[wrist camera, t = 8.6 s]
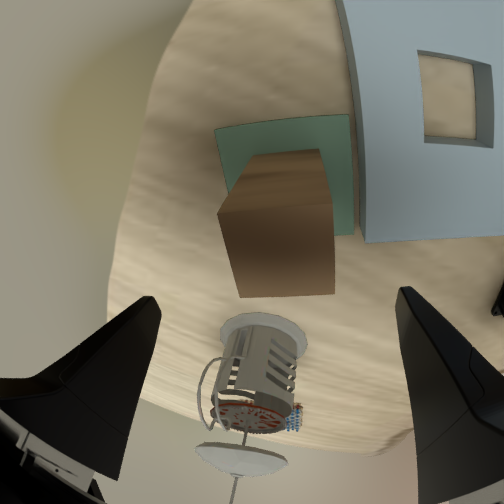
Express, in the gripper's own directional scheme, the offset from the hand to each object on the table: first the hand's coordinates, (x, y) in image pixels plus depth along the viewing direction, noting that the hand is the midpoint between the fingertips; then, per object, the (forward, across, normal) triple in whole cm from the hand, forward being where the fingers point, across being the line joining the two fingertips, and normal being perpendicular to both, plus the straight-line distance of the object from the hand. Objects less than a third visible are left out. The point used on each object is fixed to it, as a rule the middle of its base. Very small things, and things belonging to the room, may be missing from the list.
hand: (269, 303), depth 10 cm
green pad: (+12, 0, 0) cm, 12 cm away
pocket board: (+12, -12, -6) cm, 18 cm away
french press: (+12, +5, +17) cm, 22 cm away
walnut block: (+12, 0, 0) cm, 12 cm away
